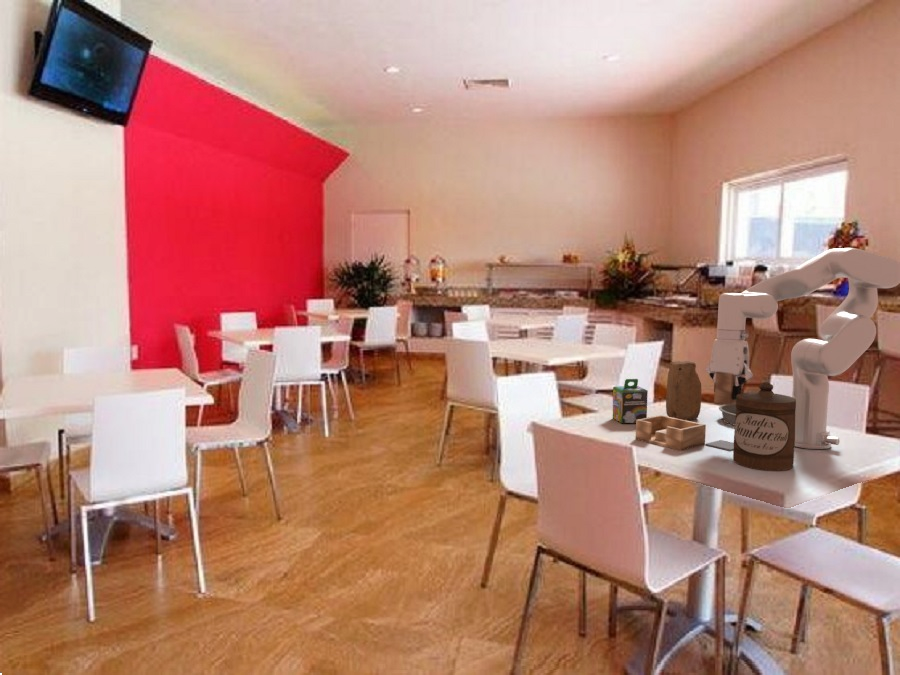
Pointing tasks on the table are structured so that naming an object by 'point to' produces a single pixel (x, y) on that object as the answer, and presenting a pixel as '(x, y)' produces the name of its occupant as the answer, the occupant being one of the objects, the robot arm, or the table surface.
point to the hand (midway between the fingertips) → (727, 396)
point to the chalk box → (629, 402)
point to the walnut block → (724, 388)
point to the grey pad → (722, 445)
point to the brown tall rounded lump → (683, 391)
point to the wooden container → (764, 430)
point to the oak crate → (670, 432)
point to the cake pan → (728, 413)
